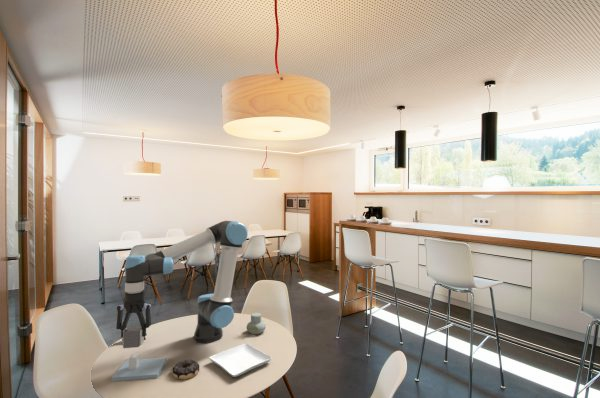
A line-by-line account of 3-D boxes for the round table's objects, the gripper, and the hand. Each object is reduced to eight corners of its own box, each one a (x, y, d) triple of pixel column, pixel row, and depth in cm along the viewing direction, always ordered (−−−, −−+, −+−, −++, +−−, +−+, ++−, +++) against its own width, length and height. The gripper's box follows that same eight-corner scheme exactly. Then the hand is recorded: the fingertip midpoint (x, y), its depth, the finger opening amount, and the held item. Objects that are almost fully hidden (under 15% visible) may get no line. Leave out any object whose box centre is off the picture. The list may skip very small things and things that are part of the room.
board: (167, 360, 143) (167, 346, 143) (157, 377, 129) (157, 362, 129) (126, 363, 140) (126, 349, 140) (111, 381, 126) (111, 365, 126)
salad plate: (273, 364, 141) (273, 356, 141) (233, 383, 125) (233, 374, 125) (246, 348, 155) (246, 342, 155) (207, 364, 140) (207, 356, 140)
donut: (190, 363, 140) (190, 355, 141) (205, 372, 133) (205, 363, 133) (166, 374, 132) (167, 365, 132) (181, 384, 124) (181, 374, 124)
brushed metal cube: (143, 341, 137) (143, 325, 138) (138, 347, 131) (138, 330, 132) (129, 341, 137) (129, 326, 137) (123, 348, 131) (123, 331, 131)
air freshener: (267, 330, 178) (267, 313, 178) (262, 336, 170) (262, 318, 170) (250, 328, 181) (250, 311, 181) (244, 333, 173) (244, 316, 173)
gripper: (160, 288, 140) (159, 339, 139) (115, 289, 137) (114, 341, 136) (154, 292, 132) (153, 346, 132) (107, 294, 130) (105, 349, 129)
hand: (133, 344), depth 134 cm, fingers closed on brushed metal cube, 6 cm apart
